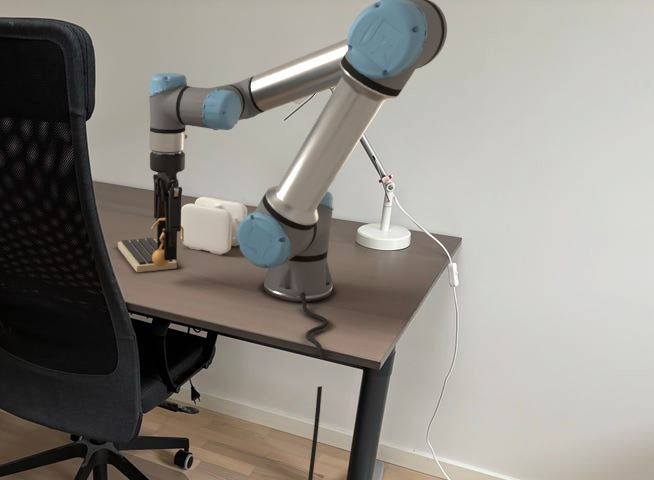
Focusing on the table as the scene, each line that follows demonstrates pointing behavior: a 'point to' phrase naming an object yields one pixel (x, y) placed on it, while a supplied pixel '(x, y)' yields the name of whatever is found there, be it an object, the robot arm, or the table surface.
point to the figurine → (159, 254)
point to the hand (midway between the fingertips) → (166, 255)
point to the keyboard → (142, 254)
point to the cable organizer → (212, 224)
